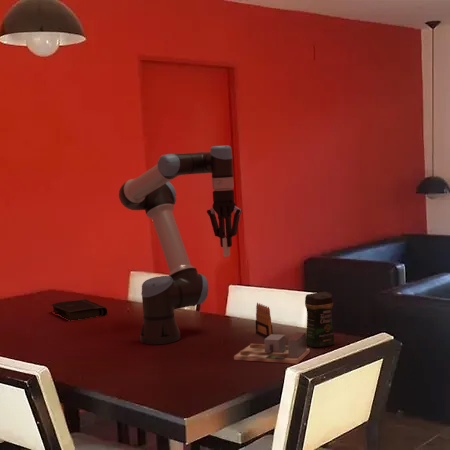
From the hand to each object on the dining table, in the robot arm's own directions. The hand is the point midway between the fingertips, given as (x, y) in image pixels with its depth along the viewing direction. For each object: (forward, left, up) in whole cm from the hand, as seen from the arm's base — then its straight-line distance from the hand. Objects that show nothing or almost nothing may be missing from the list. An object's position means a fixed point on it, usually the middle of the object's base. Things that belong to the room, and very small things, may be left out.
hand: (226, 256), depth 262 cm
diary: (-90, +36, -33) cm, 103 cm away
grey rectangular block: (+20, -12, -31) cm, 39 cm away
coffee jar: (+31, +7, -33) cm, 46 cm away
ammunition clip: (+7, +15, -33) cm, 37 cm away
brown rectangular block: (+28, -10, -31) cm, 43 cm away
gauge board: (+19, -10, -32) cm, 39 cm away
